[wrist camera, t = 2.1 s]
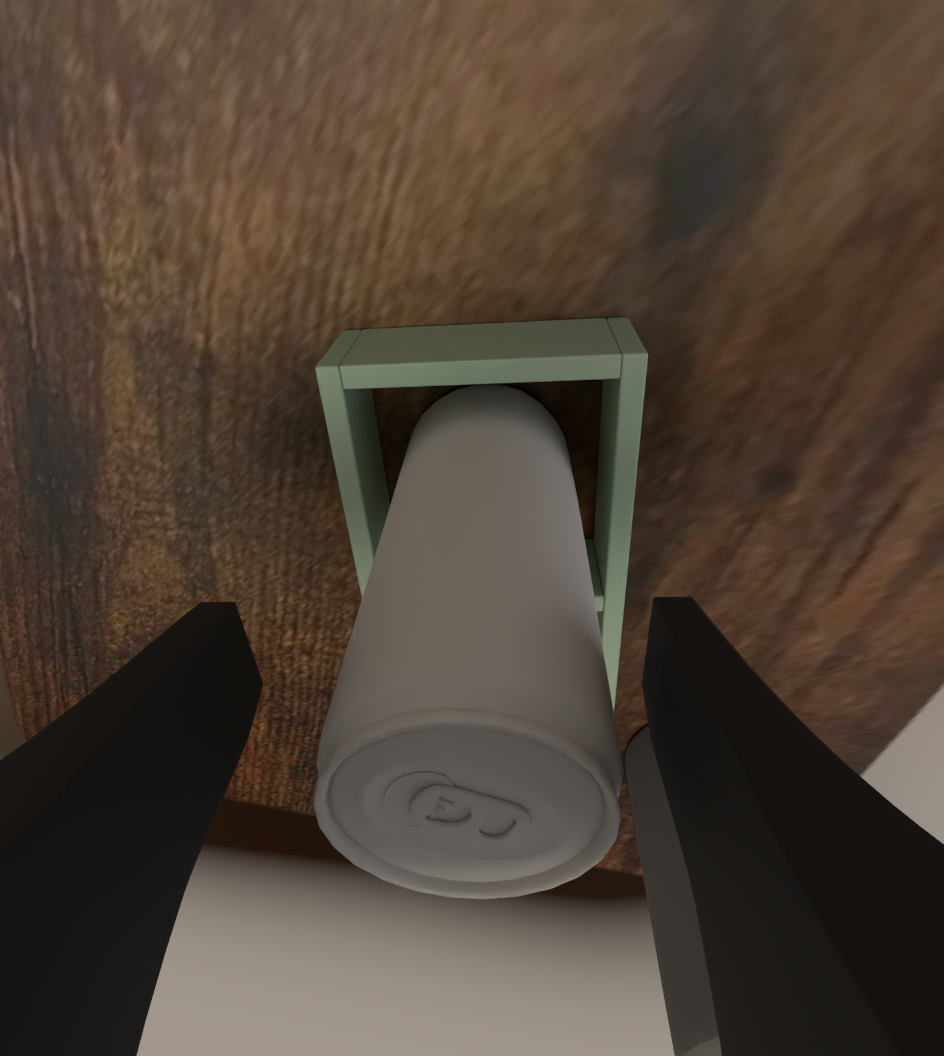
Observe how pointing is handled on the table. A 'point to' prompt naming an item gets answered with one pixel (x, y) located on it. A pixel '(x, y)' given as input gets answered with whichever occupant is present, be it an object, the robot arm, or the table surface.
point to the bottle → (671, 907)
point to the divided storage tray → (490, 360)
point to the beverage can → (475, 669)
